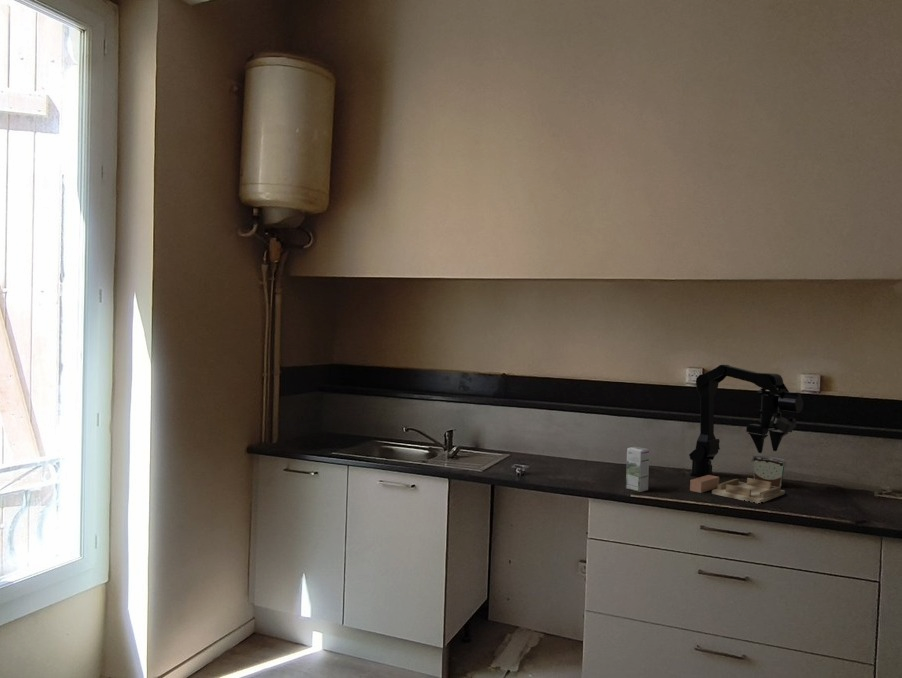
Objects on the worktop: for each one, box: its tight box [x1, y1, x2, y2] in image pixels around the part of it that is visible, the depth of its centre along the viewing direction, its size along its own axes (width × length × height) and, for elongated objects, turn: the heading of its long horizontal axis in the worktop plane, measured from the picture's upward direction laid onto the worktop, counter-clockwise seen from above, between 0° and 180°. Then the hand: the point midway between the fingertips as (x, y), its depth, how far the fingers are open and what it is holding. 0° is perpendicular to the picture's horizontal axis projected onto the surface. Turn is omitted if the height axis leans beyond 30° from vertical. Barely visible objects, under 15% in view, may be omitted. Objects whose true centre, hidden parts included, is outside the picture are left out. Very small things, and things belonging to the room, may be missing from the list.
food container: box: [750, 455, 787, 488], centre depth 244 cm, size 12×6×10 cm, turn 41°
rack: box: [711, 477, 786, 504], centre depth 228 cm, size 16×22×4 cm
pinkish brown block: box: [689, 474, 720, 494], centre depth 233 cm, size 4×14×4 cm, turn 133°
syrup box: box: [625, 446, 650, 493], centre depth 228 cm, size 6×6×14 cm
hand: (767, 451), depth 234 cm, fingers open, 9 cm apart
